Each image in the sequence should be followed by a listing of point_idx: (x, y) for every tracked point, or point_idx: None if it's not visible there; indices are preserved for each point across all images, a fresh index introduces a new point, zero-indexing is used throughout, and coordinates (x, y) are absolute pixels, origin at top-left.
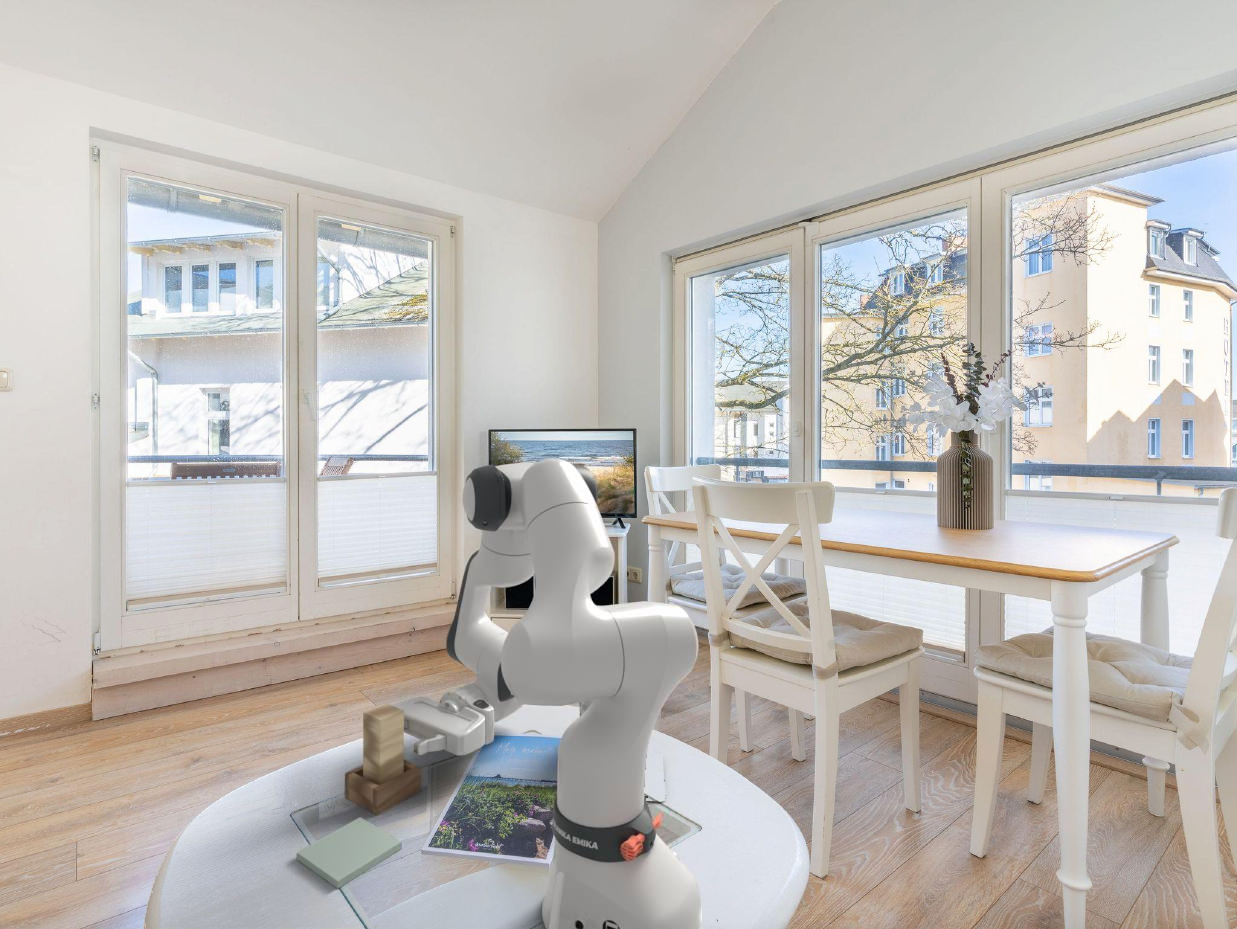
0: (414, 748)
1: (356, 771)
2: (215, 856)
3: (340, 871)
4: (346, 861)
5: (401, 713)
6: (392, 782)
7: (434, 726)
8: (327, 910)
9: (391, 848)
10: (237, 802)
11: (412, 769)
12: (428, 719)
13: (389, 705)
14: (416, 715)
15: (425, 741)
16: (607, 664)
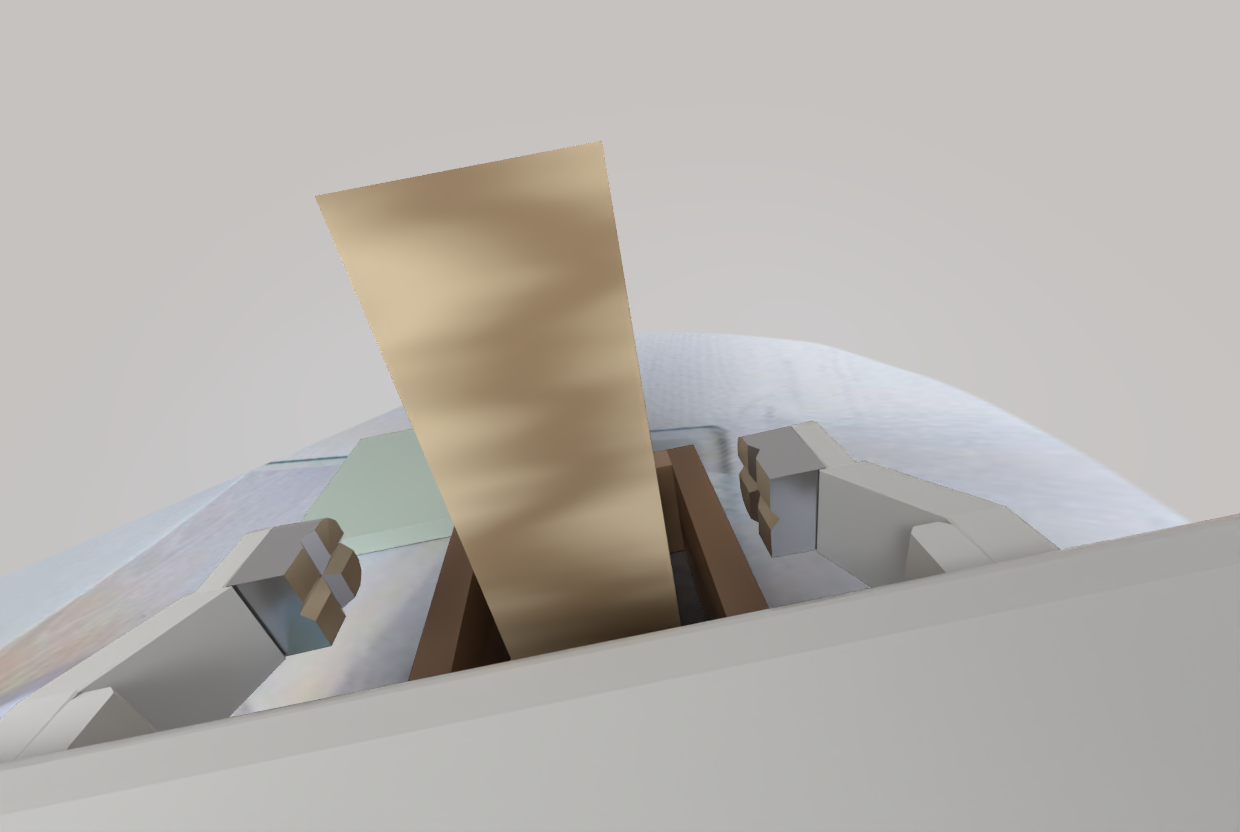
0: (339, 543)
1: (675, 472)
2: (656, 357)
3: (377, 445)
4: (387, 455)
5: (336, 217)
6: (450, 545)
7: (155, 736)
8: (347, 437)
9: None
10: (859, 368)
11: (439, 668)
12: (393, 779)
13: (536, 153)
14: (733, 674)
15: (222, 573)
16: None
